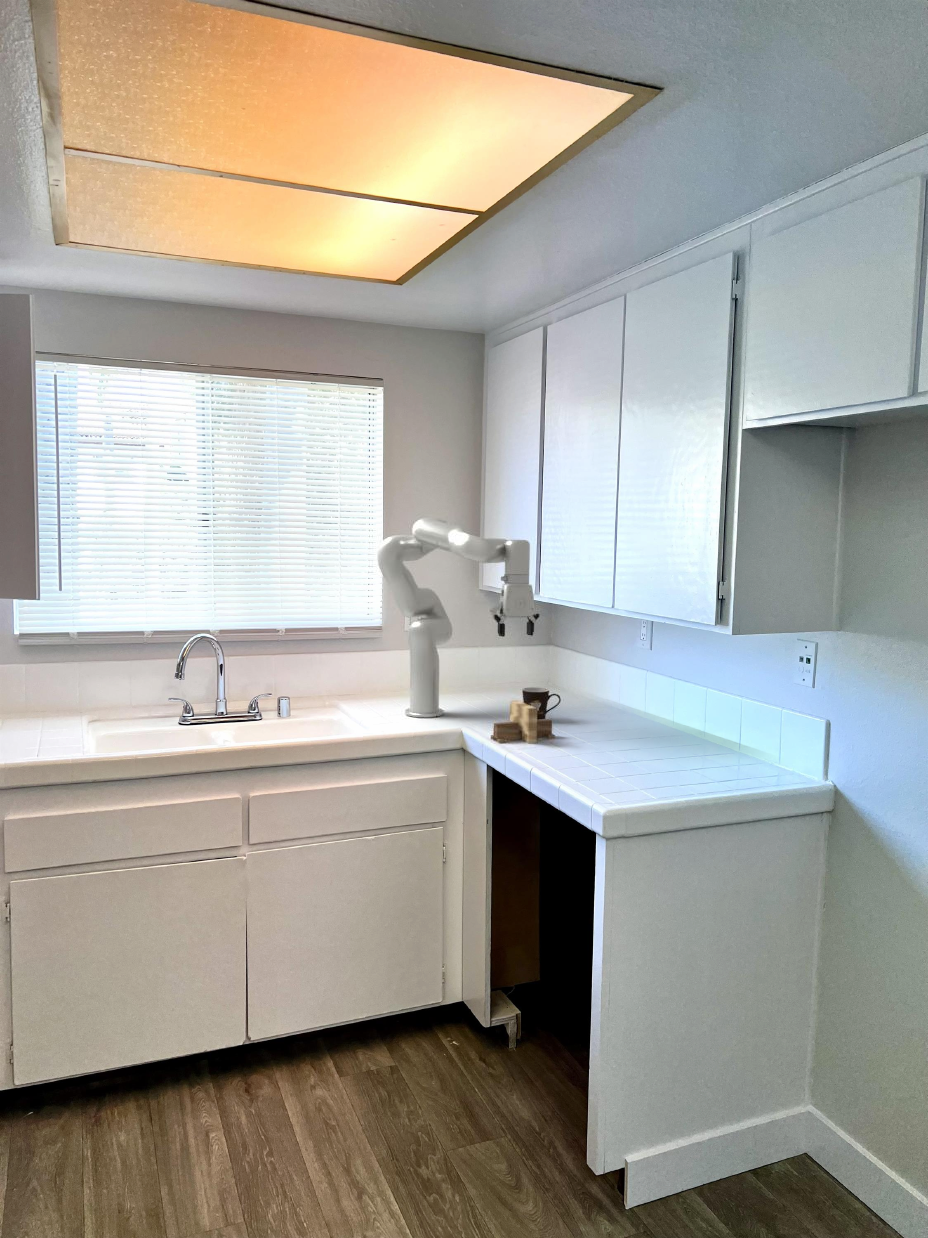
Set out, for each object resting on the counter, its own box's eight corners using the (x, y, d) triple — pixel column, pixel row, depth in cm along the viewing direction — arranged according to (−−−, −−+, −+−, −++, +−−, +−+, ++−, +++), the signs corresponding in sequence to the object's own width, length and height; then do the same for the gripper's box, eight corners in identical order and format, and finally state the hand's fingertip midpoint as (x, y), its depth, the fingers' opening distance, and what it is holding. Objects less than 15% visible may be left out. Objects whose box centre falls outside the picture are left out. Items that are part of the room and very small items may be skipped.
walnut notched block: (490, 738, 265) (490, 721, 264) (545, 734, 272) (545, 717, 271) (499, 743, 259) (499, 726, 259) (554, 738, 266) (555, 721, 266)
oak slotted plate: (509, 734, 270) (510, 701, 269) (517, 733, 271) (518, 700, 270) (528, 743, 259) (529, 708, 258) (536, 742, 261) (537, 708, 260)
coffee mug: (517, 721, 289) (517, 690, 288) (528, 716, 296) (528, 686, 295) (551, 725, 283) (551, 694, 282) (561, 720, 291) (562, 689, 290)
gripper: (496, 581, 271) (495, 638, 272) (547, 580, 277) (546, 636, 279) (486, 579, 278) (485, 635, 279) (536, 579, 284) (535, 633, 286)
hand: (515, 635), depth 279 cm, fingers open, 9 cm apart
